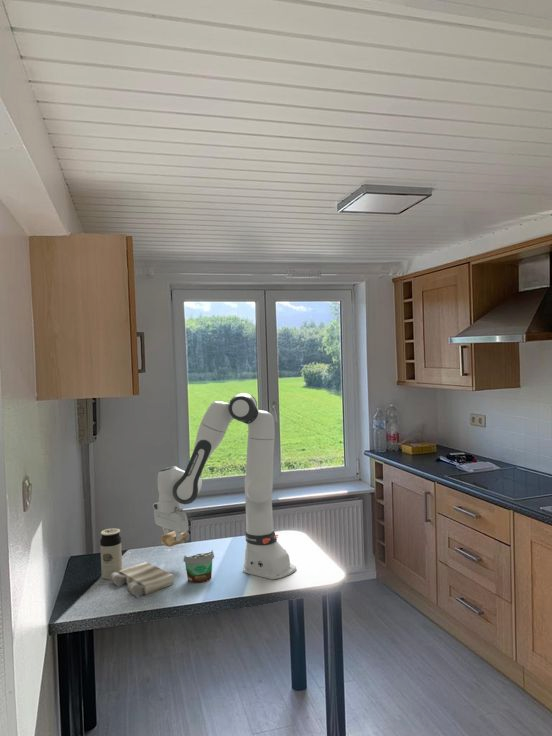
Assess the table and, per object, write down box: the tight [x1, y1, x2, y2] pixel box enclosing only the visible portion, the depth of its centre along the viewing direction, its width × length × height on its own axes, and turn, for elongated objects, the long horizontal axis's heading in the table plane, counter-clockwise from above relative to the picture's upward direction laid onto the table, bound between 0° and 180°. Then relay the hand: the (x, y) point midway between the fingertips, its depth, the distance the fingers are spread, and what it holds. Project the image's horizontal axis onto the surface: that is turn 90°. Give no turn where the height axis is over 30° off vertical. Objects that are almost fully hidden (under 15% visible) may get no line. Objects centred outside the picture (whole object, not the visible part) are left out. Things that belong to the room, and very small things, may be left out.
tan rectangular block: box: [160, 530, 190, 548], centre depth 213 cm, size 6×10×4 cm, turn 135°
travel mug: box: [99, 528, 123, 580], centre depth 206 cm, size 8×8×18 cm
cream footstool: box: [108, 561, 174, 598], centre depth 197 cm, size 20×16×4 cm
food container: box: [183, 550, 215, 584], centre depth 198 cm, size 12×6×10 cm, turn 117°
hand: (172, 538), depth 211 cm, fingers closed on tan rectangular block, 6 cm apart
